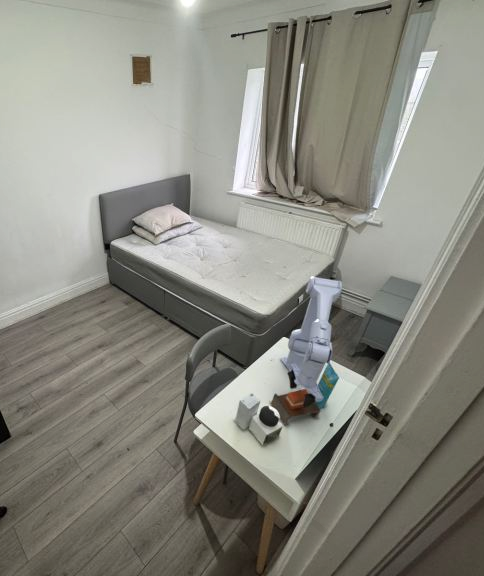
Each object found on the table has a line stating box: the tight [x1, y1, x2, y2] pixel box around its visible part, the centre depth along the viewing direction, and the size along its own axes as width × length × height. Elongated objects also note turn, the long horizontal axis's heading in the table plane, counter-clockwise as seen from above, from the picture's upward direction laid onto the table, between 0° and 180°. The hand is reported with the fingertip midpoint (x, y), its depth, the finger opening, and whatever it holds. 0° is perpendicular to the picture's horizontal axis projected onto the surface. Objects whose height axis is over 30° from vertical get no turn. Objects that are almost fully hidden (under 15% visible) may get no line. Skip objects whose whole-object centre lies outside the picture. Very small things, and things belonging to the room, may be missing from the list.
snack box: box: [285, 388, 310, 409], centre depth 108 cm, size 7×4×5 cm, turn 102°
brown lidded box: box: [270, 392, 321, 426], centre depth 110 cm, size 13×9×6 cm
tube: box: [315, 361, 340, 409], centre depth 109 cm, size 7×5×19 cm, turn 2°
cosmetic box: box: [234, 392, 261, 431], centre depth 105 cm, size 6×4×12 cm
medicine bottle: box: [248, 405, 284, 446], centre depth 102 cm, size 7×7×12 cm
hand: (299, 396), depth 107 cm, fingers open, 7 cm apart
